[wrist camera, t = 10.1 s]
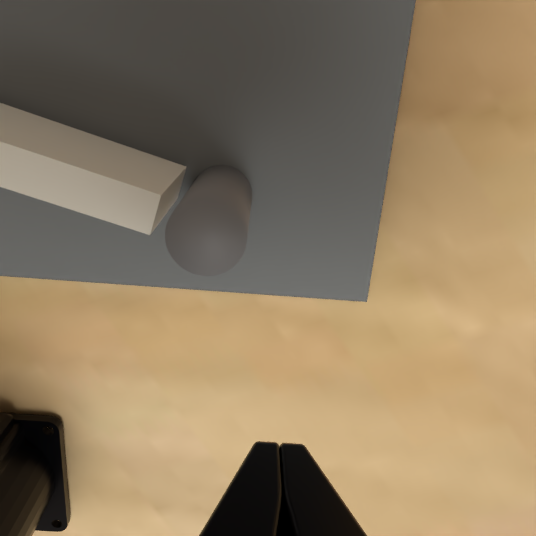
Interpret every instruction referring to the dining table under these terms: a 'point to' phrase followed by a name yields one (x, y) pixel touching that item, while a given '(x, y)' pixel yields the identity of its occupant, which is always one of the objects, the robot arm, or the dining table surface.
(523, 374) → the dining table surface
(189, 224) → the gate
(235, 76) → the plate with peg
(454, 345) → the dining table surface
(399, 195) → the dining table surface
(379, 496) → the dining table surface
